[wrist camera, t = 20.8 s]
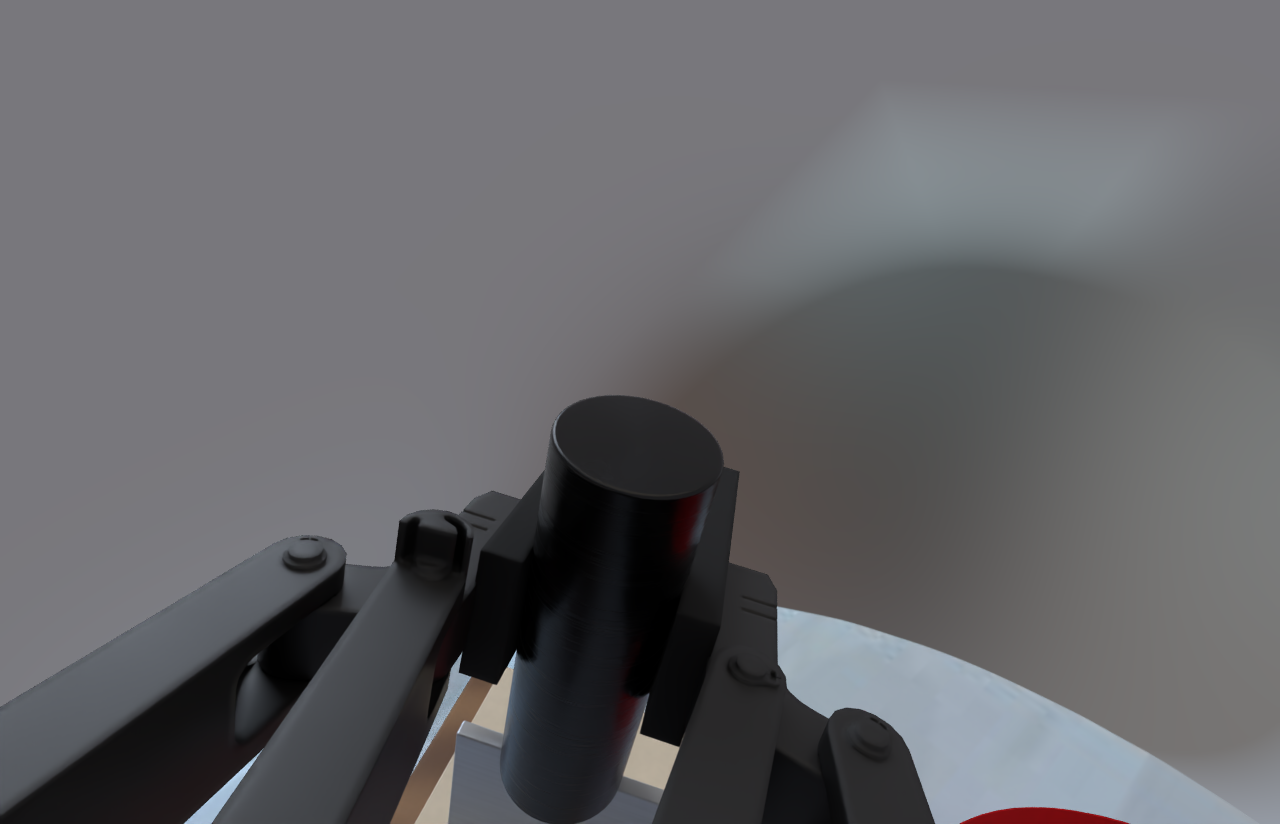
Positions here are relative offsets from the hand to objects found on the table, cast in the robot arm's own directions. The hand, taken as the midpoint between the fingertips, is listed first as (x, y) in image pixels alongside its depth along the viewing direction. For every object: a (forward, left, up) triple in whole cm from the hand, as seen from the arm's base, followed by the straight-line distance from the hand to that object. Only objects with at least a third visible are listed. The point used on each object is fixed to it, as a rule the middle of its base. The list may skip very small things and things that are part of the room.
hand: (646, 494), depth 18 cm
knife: (+1, -2, -15) cm, 15 cm away
